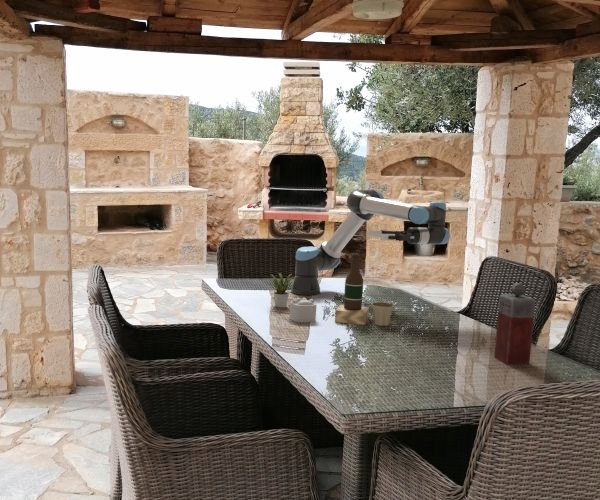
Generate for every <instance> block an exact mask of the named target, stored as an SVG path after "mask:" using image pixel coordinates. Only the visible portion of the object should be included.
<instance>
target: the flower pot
mask: <svg viewBox="0 0 600 500" xmlns="http://www.w3.org/2000/svg"><path fill="white" fill-rule="evenodd" d="M371 306H372V307H371V308H372V311H373V324H374V325H375V326H380V327H382V326H385V327H387V326H389V325H390V319H391V315H392V311H393V309H394V307H395V304H393V303H391V302H390V303H389V302H383V301H382V302H381V301H379V302H377V301H376V302H375V301H374V302H372V303H371Z"/></svg>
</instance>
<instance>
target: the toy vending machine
mask: <svg viewBox="0 0 600 500" xmlns="http://www.w3.org/2000/svg"><path fill="white" fill-rule="evenodd" d="M510 291H511V293H512V294H511V293H508V294H507V293H506V294H505V293H502V294H500V295H499V299H498V300H499V302H498V310H497V311H498V312H497V324H496V335H495V345H494V346H495V347H494V355H493V357H494V358H495V359H496V360H498V361H499V362H501V363H503V364H504V365H506V366H515V365H516V366H519V365H520V366H521V365H530V362H531V353H532V352H531V350H532V340H533V332H534V331H533V330H534V329H533V328H534V320H535V318H534V317H535V310H536V309H535V308H536V307H535V306H536V300H535V299H534V298H533V297H529V296H528V295H527V296H526V295H524V293H525V292H526V287H525V286H524V284H522V283H518V282H515V283H513V284H512V285H511V288H510Z"/></svg>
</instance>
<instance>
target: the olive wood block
mask: <svg viewBox="0 0 600 500" xmlns="http://www.w3.org/2000/svg"><path fill="white" fill-rule="evenodd" d="M334 311H335V312H334V314H335V315H334V323H343V324H353V325H354V324H355V325H363V326H365V325H366V324H367V322H368V320H369V318H370V317H369V315H370V306H363V305H362V308H361V309H360V310H347V309H345V308H344V304H341V303H340V304H339V305H338V306H337V308H336V309H335V310H334Z"/></svg>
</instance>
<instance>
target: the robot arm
mask: <svg viewBox="0 0 600 500" xmlns="http://www.w3.org/2000/svg"><path fill="white" fill-rule="evenodd" d="M346 206H347V208H348V209H349V211H350V212H349V214H347V216H346V217H345V218H344V220H343V221H342V222H341V224H340V225H339V226H338V228H337V229H336V230H335V231H334V233H333V234H332V236H330V238H329V239H328V241H325V240H324V242H323V243H322V244H320V246H319V247H317V246H311V245H310V246H302V247H299V248H298V249H297V250H296V252H295V267H294V269H295V270H294V272H295V273H294V278H293V282H292V283H291V286H293V287H290V288H291V289H290V293H292V294H295V295H300V296H301V295H302V296H315V295H319V294H321V286H320V283H319V280H318V274H319V272H320V271H321V272H322V271H323V272H324V271H330V270H333V269H336V268H337V267H338V265H339V264H340V263H341V256H342V251H343V249H344V248H345V247H346V246H347V244H348V243H349V242H350V241H351V239H352V238H353V236H354V235H355V234H356V233H357V231H359V229H360V228H361V227H362V225H363V224H364V223H365V222H367V221H368V222H369V221H370V220H371V219H372V217H373V216H374V215H376V216H377V215H378V216H383V217H388V218H393V219H398V220H404V221H407V222H412V223H413V224H416V225H417V224H418V225H422V224H423V225H424V224H427V225H428V227H408V228H407V230H406V231H405V230H400V231H399V230H384V229H380V230H367V237H369V238H370V237H371V238H372V237H373V238H374V237H375V238H376V237H377V238H380V241H397V242H407V244H409V245H421V246H423V245H445V244H447V243H448V242H449V241H450V238H451V234H450V230H449V229H448V228H446V227H445V225H446V217H447V203H446V202H444V201H443V202H442V201H431V202H430V203H429V206H422V205H415V204H410V203H405V202H400V201H393V200H389V199H385V197H384V195H383V193H382V192H381V191H380V190H376V189H371V188H370V189H356V190H353V191H352V192H350V193H349V194H348V196H347V198H346ZM296 276H298V277H296ZM292 289H293V290H292Z"/></svg>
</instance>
